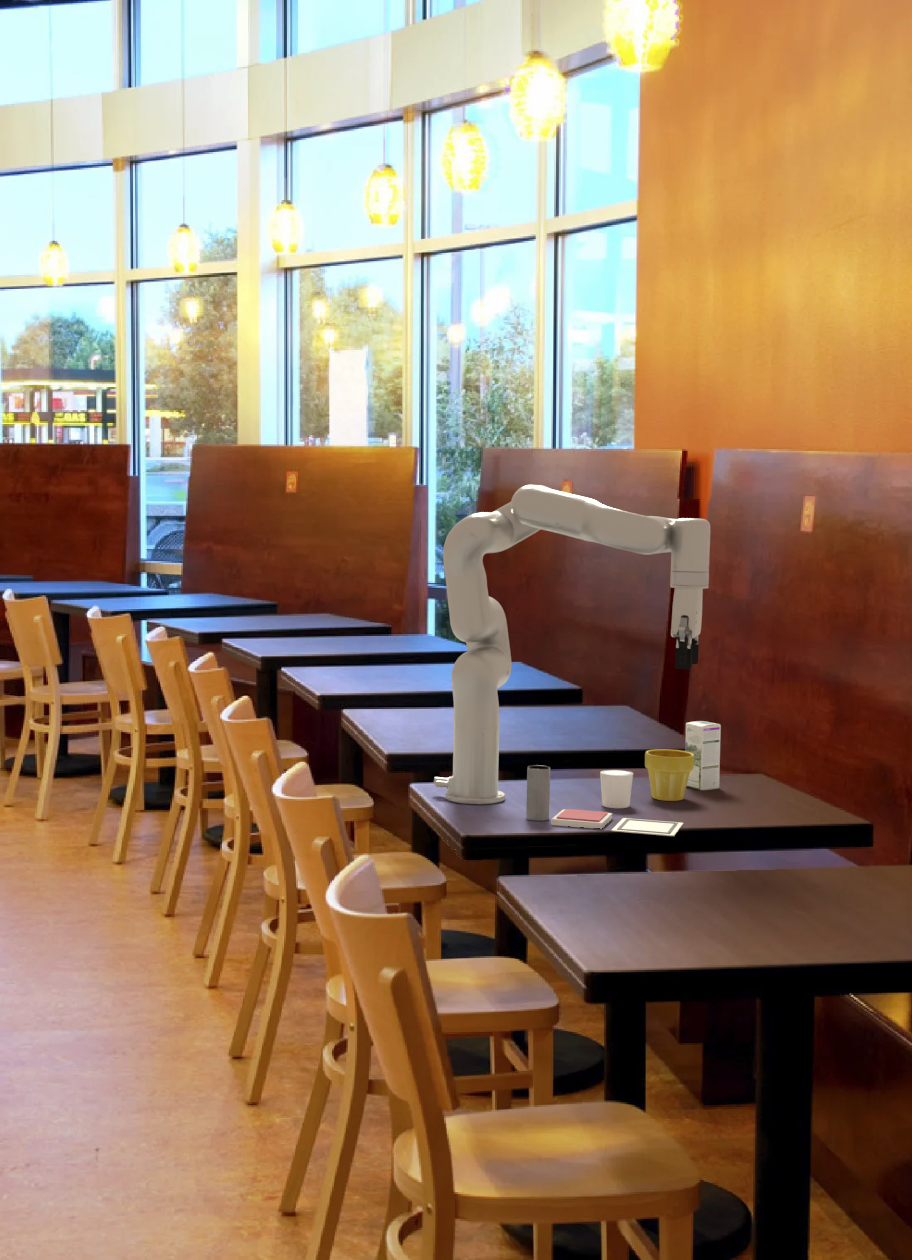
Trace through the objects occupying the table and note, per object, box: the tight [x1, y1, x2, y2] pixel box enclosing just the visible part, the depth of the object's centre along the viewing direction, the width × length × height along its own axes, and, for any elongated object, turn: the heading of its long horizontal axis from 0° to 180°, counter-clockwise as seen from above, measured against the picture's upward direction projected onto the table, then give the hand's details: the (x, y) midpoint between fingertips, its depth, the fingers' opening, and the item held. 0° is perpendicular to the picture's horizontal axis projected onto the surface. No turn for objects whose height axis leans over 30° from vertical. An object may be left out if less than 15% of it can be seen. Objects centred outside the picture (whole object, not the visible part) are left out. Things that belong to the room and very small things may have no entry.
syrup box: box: [684, 720, 722, 791], centre depth 339 cm, size 6×6×14 cm
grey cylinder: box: [525, 764, 551, 822], centre depth 303 cm, size 4×4×10 cm
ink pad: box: [550, 808, 613, 830], centre depth 300 cm, size 10×10×2 cm
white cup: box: [599, 769, 634, 809], centre depth 318 cm, size 7×7×7 cm
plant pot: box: [644, 748, 694, 802], centre depth 326 cm, size 10×10×10 cm
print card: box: [610, 817, 684, 837], centre depth 297 cm, size 12×12×1 cm
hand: (686, 666), depth 305 cm, fingers open, 9 cm apart
